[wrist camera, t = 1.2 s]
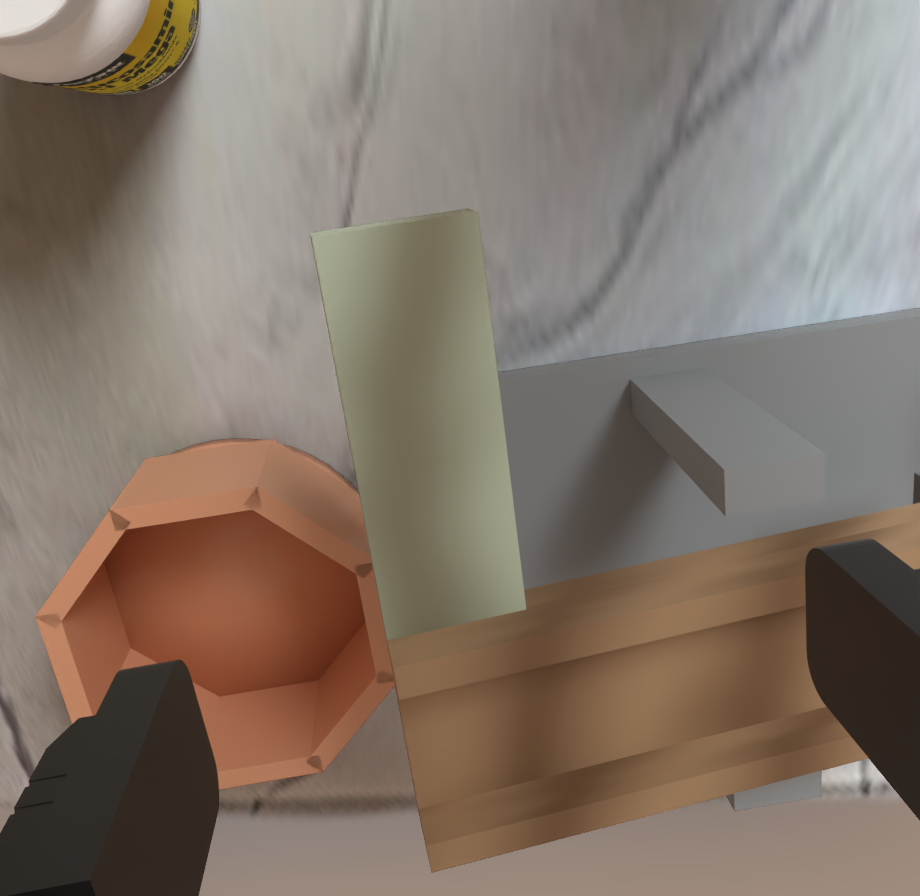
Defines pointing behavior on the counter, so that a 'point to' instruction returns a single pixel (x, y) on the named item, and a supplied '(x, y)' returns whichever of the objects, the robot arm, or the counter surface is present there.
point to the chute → (549, 589)
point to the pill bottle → (97, 42)
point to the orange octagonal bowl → (232, 603)
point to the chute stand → (711, 450)
